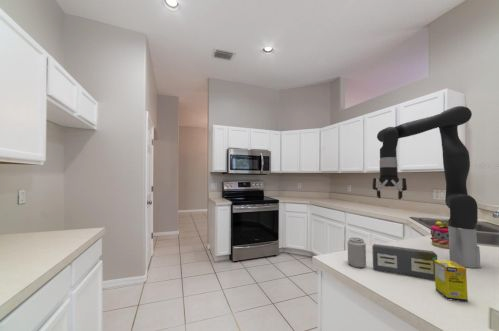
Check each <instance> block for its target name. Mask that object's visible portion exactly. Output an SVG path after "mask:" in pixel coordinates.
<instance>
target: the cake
mask: <svg viewBox="0 0 499 331" xmlns="http://www.w3.org/2000/svg"><path fill="white" fill-rule="evenodd" d="M430 235H431V237H429V238H430V240H431V245H432V246H433V247H436V248H439V249H443V250H444V249H445V250H449V231H448V222H445V221H444V222H442V221H440V220H439V221H436V222H435V225H431V226H430Z"/></svg>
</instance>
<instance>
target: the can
mask: <svg viewBox="0 0 499 331" xmlns="http://www.w3.org/2000/svg"><path fill="white" fill-rule="evenodd" d="M366 244H367V243H366V242H365V240H364V239H363V238H360V237H351V236H350V237H349V238H348V240H347V262H348V264H349V265H350V266H352V267H354V268H358V269H362V268H364V267H366V266H367V256H366V255H367V251H366V250H367V247H366Z"/></svg>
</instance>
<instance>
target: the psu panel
mask: <svg viewBox="0 0 499 331" xmlns="http://www.w3.org/2000/svg"><path fill="white" fill-rule="evenodd" d="M371 249H372V269H373V271H377V272H384V273H389V274H397V275H401V276H408V277H412V276H413V277H412V278H418V277H419V278H418V279H425V280H430V281H431V280H432V281H435V264H434V260H438V254H437V253H436V252H434V250H425V249H419V248H410V247H403V246H402V247H401V246H393V245H385V244H376V243H373V244H372V248H371Z"/></svg>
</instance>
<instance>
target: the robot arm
mask: <svg viewBox="0 0 499 331" xmlns="http://www.w3.org/2000/svg"><path fill="white" fill-rule="evenodd" d="M472 115H473V113H472V110H471V109H470V108H469V107H467V106H463V105H460V106H459V105H458V106H453V107H451V108H449V109H446V110H444V111H442V112H440V113H438V114H435V115H432V116H427V117H424V118H419V119H417V120H416V119H415V120H412V121H408V122H404V123H402V124H399V125H396V126H389V127H388V126H387V127H385V128H383V129H381V130H380V131H378V133H377V136H376V139H377V140H378V141H379V142H381V143H382V146H381V147H380V148H379V178H377V177H376V178H375V177H373V178H372V190H374V191H376V197H377V199H381V197H382V196H381V190H382V188H384V187H387V188H388V187H392V188H393V187H394V188H396V189H397V199H399V200H401V199H403V192H404V191H407V190H408V186H407V180H406V179H407V178H404V177H402V178H399V176H398V175H399V174H398V173H399V172H398V166H399V165H398V160H397V147H398V142H399V139H402V138H407V137H412V136H415V135H418V134H419V135H420V134H422V133H424V132H428V131H431V130H434V129H438V130H439V134H440V140H441V148H442V163H443V171H444V172H443V173H444V178H445V199H444V202H445V205H446V206H447V208H448V209H449V219H447V223H448V226H447V227H448V231H449V249H448V251H449V261H453V262H455V263H457V264H458V265H460V266H462V267H464V268H471V269H476V268H478V269H481V251H480V249H481V248H480V246H479V245H478V242H477V241H478V240H477V224H478V220H479V219H478V217H479V214H478V203H477V200H476V199H475V198H474V197H473V196H472V195H469V194H468V188H467V179H468V176H469V173H470V167H471V159H470V153H469V150H468V148H467V147H466V146H465V144H464V142H462V140H461V139H460V137H459V131H458V127H459V126H461V125H464V124H466V123H468V122H469V121H470V120H471V118H472ZM378 182H379V183H380V184H379V185H378V187H377V183H378ZM399 182H400V184H401V187H402V188H401V187H400V185H398V183H399Z"/></svg>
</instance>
